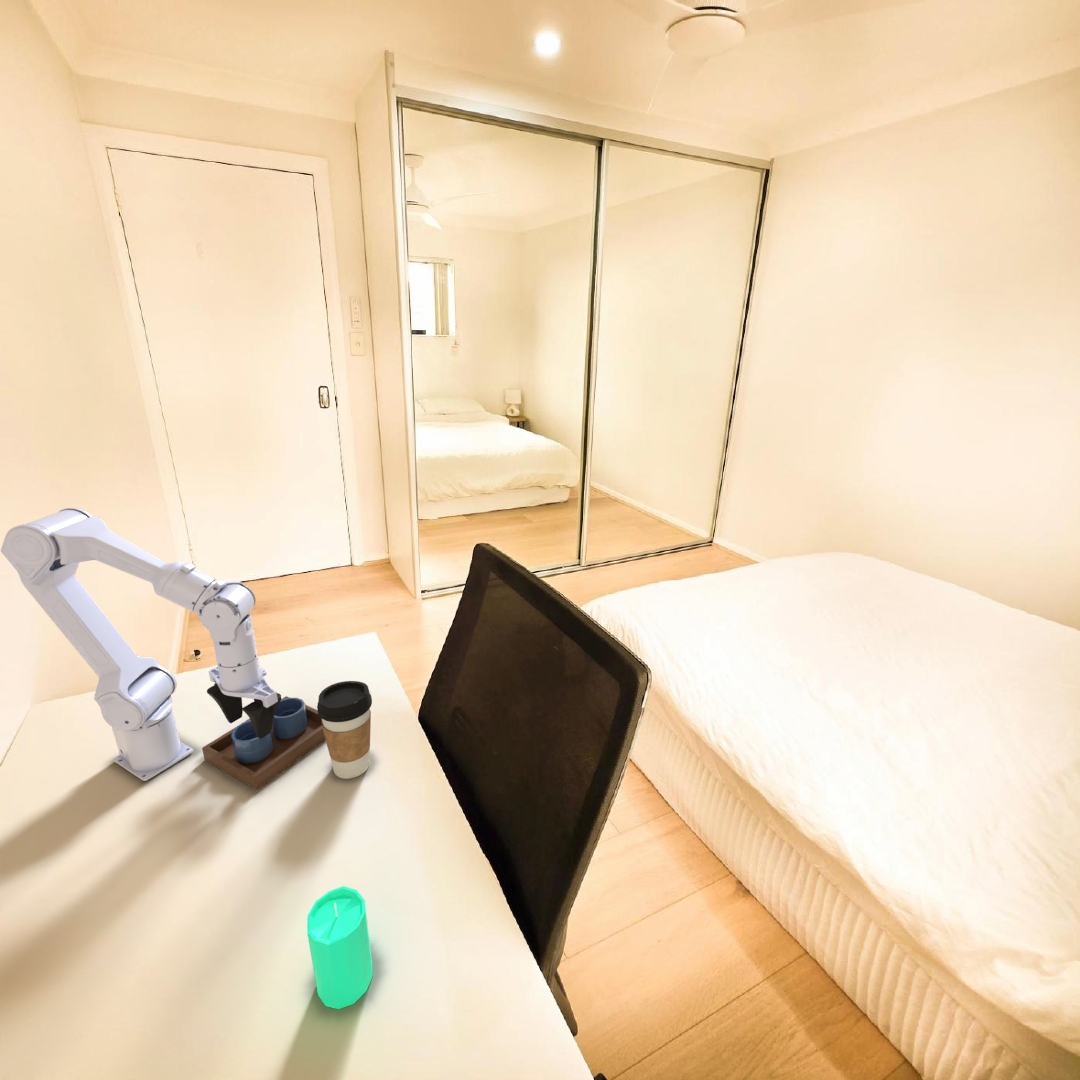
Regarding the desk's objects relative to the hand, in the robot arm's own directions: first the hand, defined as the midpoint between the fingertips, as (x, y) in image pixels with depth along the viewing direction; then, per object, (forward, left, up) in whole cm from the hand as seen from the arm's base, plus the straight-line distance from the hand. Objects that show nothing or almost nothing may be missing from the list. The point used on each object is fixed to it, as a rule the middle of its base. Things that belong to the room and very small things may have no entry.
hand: (249, 727), depth 90 cm
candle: (+40, -17, -6) cm, 44 cm away
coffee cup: (+16, +7, -6) cm, 19 cm away
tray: (0, +4, -6) cm, 7 cm away
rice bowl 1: (0, 0, -6) cm, 6 cm away
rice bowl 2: (0, +7, -6) cm, 9 cm away
